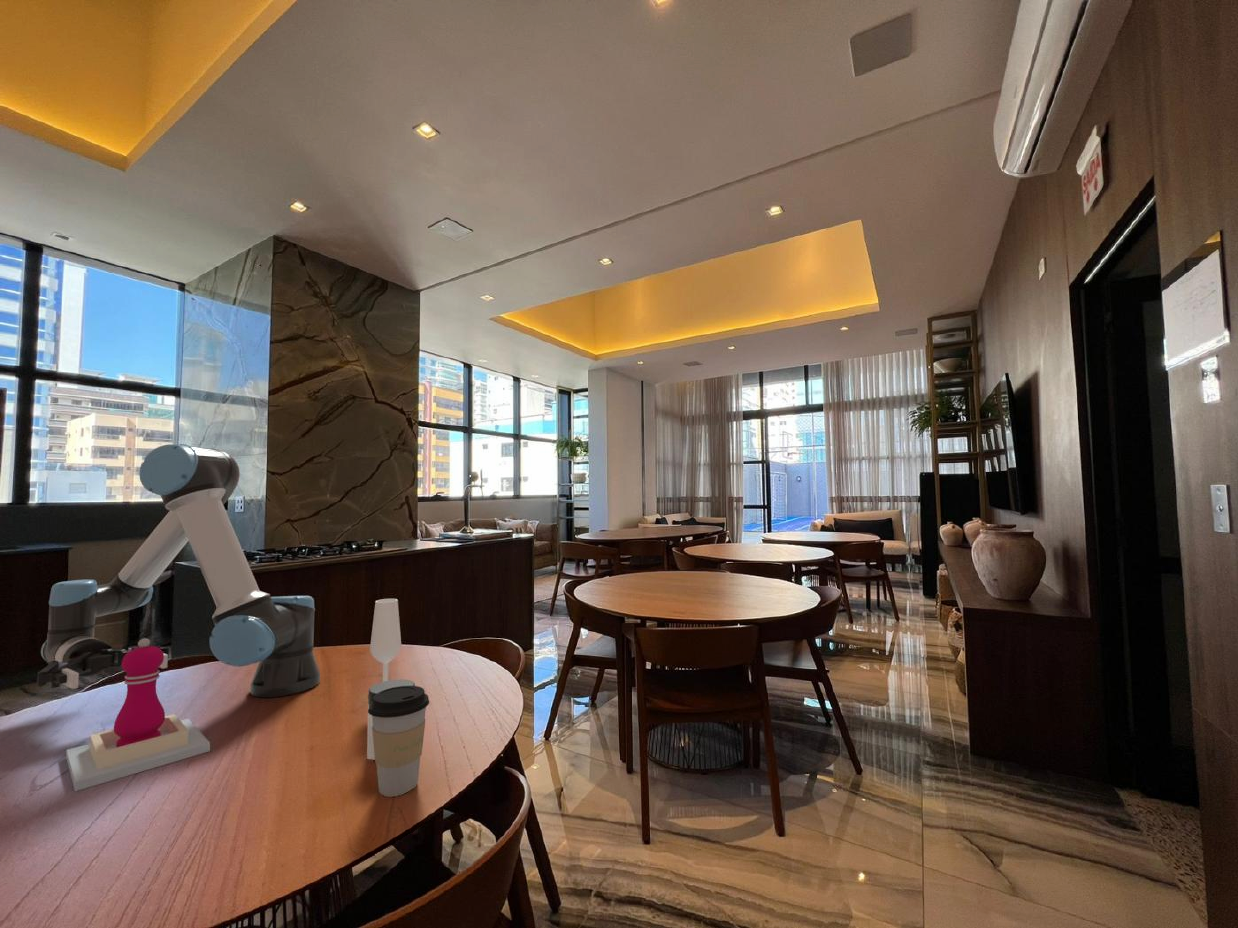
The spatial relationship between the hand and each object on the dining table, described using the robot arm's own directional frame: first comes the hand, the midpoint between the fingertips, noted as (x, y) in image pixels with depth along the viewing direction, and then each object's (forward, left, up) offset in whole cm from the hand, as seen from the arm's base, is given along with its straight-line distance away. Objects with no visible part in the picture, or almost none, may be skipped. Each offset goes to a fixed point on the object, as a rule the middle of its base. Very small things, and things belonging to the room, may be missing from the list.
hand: (123, 670), depth 106 cm
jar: (-51, +23, -14) cm, 58 cm away
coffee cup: (-53, +37, -14) cm, 66 cm away
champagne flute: (-48, -2, -14) cm, 50 cm away
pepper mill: (-6, +7, -13) cm, 16 cm away
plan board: (-6, +7, -14) cm, 17 cm away
